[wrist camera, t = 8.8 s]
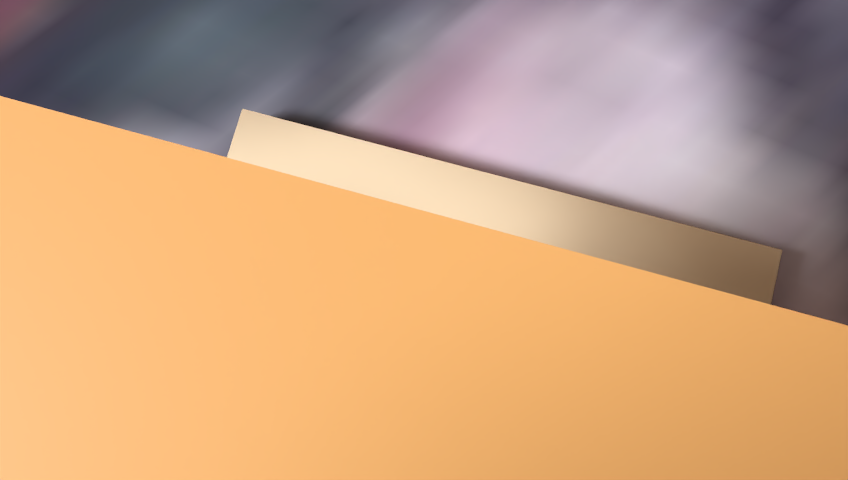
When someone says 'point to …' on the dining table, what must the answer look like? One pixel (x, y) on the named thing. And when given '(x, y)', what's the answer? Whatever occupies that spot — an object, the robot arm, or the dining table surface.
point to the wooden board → (509, 206)
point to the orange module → (363, 337)
